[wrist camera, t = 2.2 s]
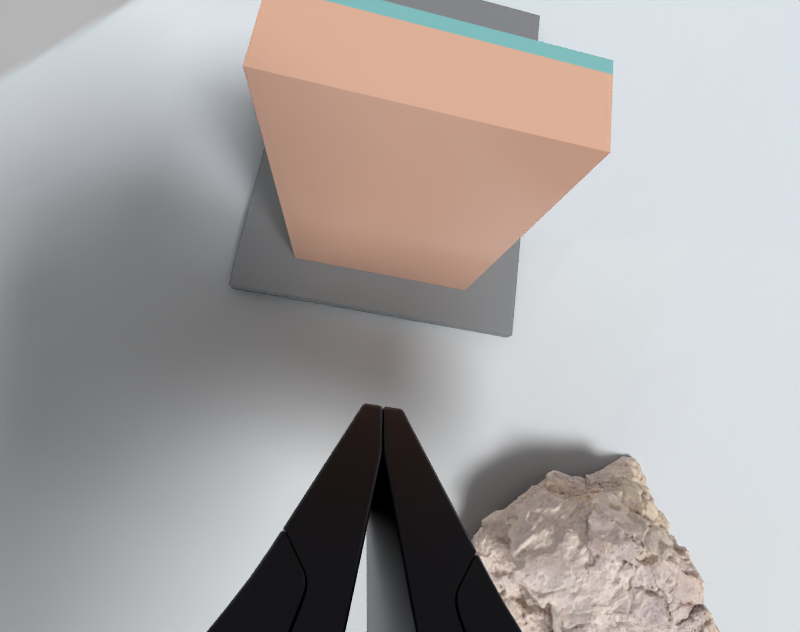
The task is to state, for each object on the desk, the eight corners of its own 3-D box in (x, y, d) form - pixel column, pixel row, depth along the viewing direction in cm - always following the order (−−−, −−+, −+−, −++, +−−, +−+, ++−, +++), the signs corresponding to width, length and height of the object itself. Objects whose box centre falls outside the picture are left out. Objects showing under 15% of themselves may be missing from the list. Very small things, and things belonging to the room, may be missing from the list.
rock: (626, 455, 20) (734, 472, 15) (674, 644, 19) (815, 740, 13) (412, 500, 19) (444, 538, 13) (445, 714, 17) (499, 860, 11)
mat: (507, 337, 20) (511, 335, 20) (232, 287, 19) (228, 283, 18) (535, 24, 25) (539, 15, 24) (315, -34, 24) (314, -45, 23)
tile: (464, 290, 20) (609, 152, 9) (294, 257, 19) (242, 65, 9) (470, 241, 21) (613, 60, 10) (306, 208, 20) (270, -29, 9)
